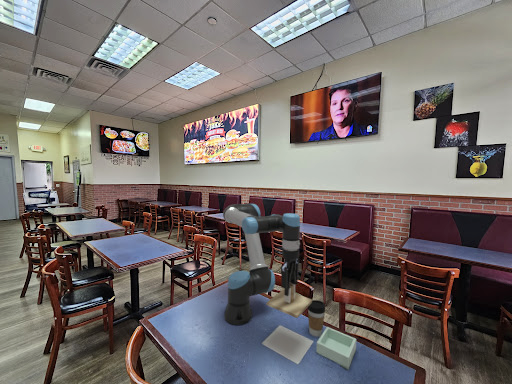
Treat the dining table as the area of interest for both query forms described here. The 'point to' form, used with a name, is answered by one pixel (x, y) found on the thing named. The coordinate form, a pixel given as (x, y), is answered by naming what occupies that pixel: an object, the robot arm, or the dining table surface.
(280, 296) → the lid
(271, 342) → the mat
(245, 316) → the robot arm
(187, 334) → the dining table surface
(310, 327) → the coffee cup
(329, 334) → the dish
